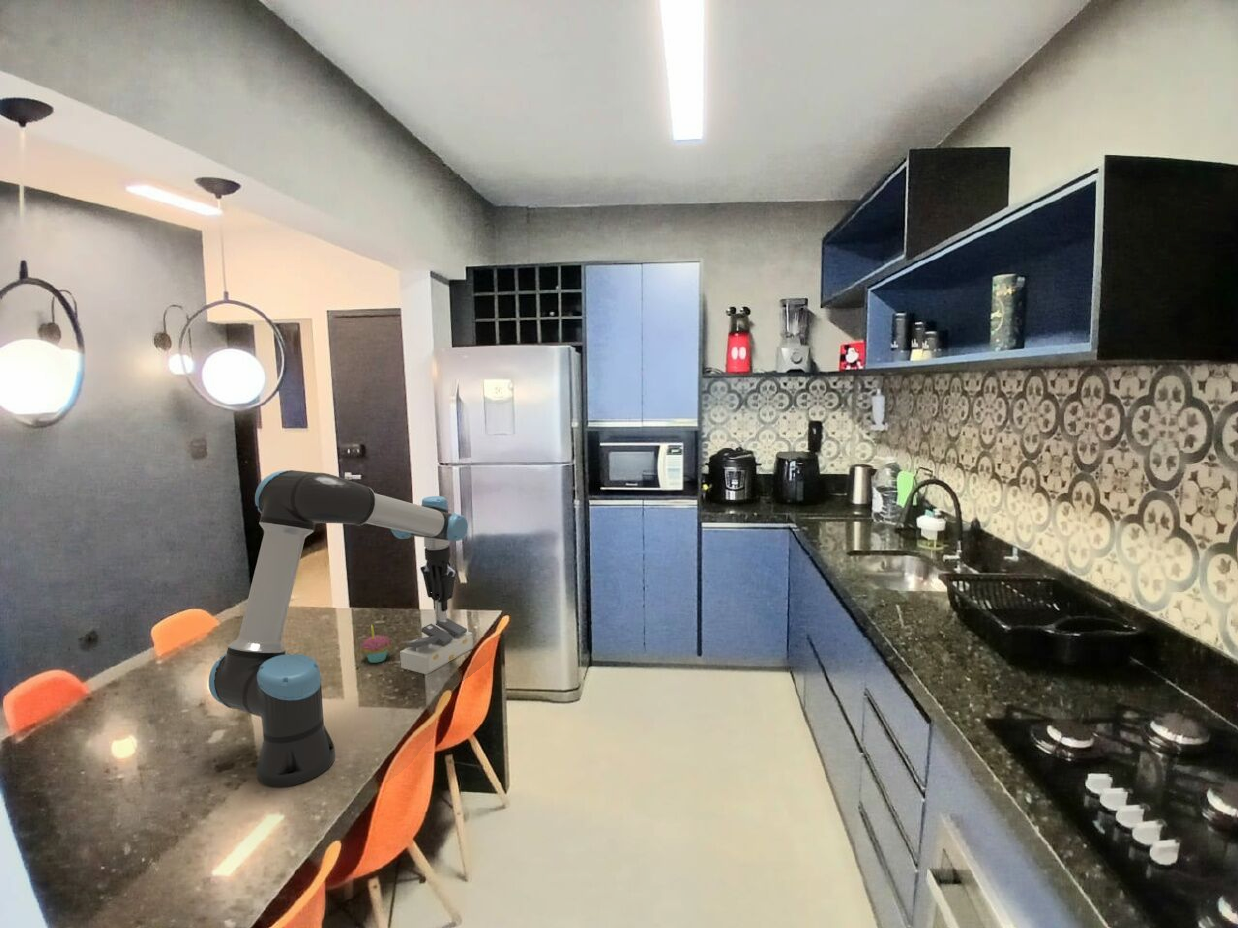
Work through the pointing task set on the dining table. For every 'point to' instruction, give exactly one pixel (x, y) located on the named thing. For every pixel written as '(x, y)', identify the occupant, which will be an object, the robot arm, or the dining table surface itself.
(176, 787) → the dining table surface
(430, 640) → the rocker
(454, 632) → the rocker
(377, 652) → the cupcake
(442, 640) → the block
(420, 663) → the switch unit
